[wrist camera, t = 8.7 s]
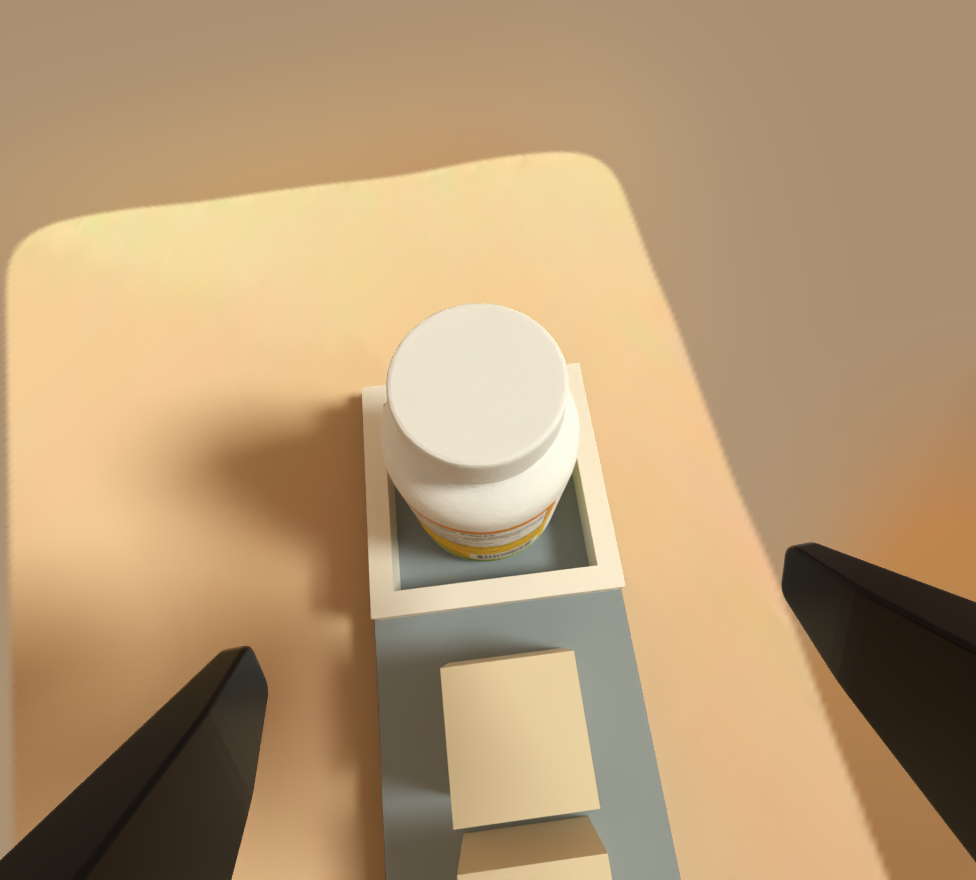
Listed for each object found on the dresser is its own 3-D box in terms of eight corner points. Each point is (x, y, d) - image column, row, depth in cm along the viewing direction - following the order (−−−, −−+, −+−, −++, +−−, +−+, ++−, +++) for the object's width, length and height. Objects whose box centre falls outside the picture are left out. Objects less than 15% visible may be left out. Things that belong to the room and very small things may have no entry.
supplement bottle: (465, 406, 22) (444, 239, 12) (579, 473, 20) (647, 343, 11) (388, 514, 20) (299, 413, 11) (506, 593, 19) (518, 553, 10)
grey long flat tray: (703, 1031, 15) (770, 1158, 12) (401, 1078, 15) (371, 1224, 11) (572, 376, 23) (587, 326, 19) (369, 399, 23) (345, 352, 19)
